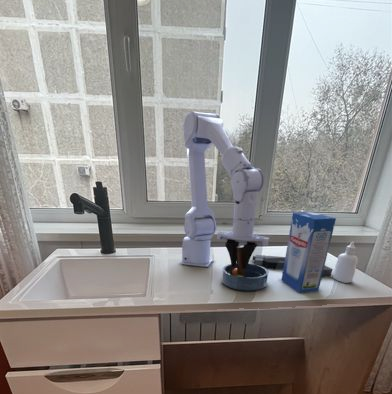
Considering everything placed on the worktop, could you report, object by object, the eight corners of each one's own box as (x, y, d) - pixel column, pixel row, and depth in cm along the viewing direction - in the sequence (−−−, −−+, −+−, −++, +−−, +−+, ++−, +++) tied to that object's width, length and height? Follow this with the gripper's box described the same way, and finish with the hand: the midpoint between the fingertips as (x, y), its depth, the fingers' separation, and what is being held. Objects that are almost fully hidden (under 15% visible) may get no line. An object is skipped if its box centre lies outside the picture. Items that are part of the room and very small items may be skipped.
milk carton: (281, 280, 89) (292, 212, 79) (298, 278, 90) (312, 212, 81) (299, 292, 81) (315, 219, 71) (318, 290, 82) (336, 218, 72)
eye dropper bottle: (344, 277, 92) (354, 239, 87) (353, 283, 88) (365, 244, 82) (330, 276, 92) (340, 239, 86) (339, 283, 87) (350, 244, 82)
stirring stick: (236, 276, 86) (233, 247, 82) (241, 274, 87) (239, 245, 83) (242, 278, 84) (240, 248, 80) (247, 275, 85) (245, 245, 81)
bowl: (217, 288, 82) (218, 274, 80) (226, 273, 93) (227, 261, 91) (264, 294, 79) (266, 280, 77) (267, 278, 90) (269, 265, 88)
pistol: (334, 272, 89) (325, 258, 102) (252, 265, 93) (253, 253, 106) (333, 279, 90) (324, 264, 103) (251, 272, 94) (252, 258, 107)
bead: (239, 280, 88) (230, 278, 89) (242, 274, 89) (233, 272, 90) (240, 273, 85) (230, 271, 86) (243, 267, 87) (234, 265, 88)
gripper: (274, 219, 78) (267, 267, 84) (224, 214, 83) (222, 259, 90) (267, 223, 72) (260, 274, 79) (214, 217, 78) (212, 265, 84)
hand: (239, 266), depth 84 cm, fingers closed on stirring stick, 3 cm apart
